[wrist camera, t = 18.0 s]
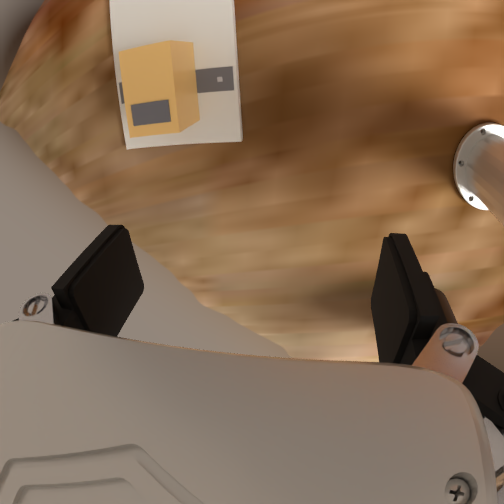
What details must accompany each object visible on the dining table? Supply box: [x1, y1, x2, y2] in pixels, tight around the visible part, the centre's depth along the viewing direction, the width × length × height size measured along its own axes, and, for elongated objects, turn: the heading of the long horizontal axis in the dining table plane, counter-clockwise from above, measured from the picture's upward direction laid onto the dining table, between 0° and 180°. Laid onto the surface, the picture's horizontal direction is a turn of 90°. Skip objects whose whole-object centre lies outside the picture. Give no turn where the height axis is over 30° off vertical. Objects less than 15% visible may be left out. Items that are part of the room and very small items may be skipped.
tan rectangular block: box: [119, 40, 200, 138], centre depth 32 cm, size 6×10×7 cm, turn 3°
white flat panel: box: [109, 0, 243, 149], centre depth 32 cm, size 16×28×1 cm, turn 3°
